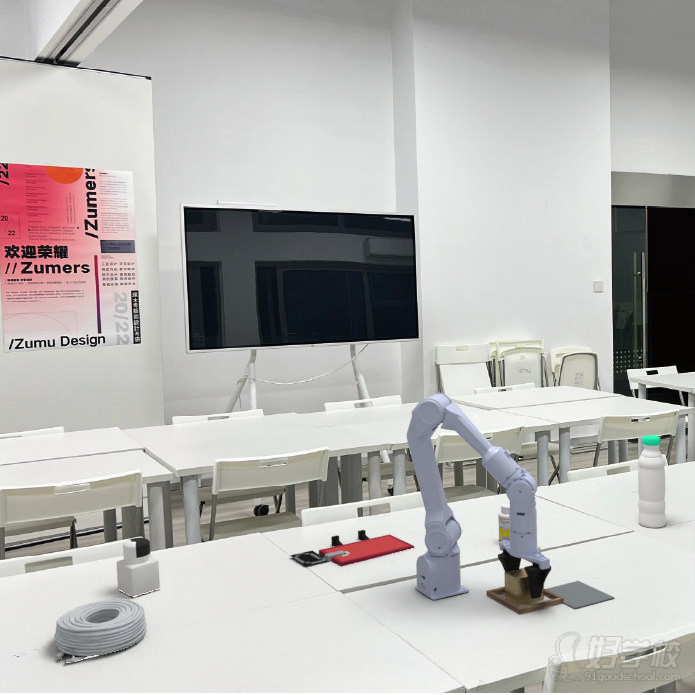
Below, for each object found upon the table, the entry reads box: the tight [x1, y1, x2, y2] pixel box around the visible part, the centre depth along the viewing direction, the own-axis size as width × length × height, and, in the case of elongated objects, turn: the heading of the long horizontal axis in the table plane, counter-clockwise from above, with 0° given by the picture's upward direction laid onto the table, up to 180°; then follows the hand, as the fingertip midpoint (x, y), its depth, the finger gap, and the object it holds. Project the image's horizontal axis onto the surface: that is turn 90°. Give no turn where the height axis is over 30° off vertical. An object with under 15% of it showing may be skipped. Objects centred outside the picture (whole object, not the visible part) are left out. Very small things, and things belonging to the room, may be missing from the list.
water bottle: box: [637, 434, 666, 529], centre depth 212 cm, size 7×7×25 cm
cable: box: [53, 598, 148, 664], centre depth 152 cm, size 18×18×6 cm
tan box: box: [503, 567, 545, 607], centre depth 165 cm, size 7×4×6 cm, turn 116°
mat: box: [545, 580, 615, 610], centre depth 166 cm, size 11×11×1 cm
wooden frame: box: [486, 585, 564, 615], centre depth 165 cm, size 12×12×1 cm
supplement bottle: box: [497, 502, 510, 542], centre depth 201 cm, size 6×6×10 cm
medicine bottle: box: [116, 537, 161, 596], centre depth 177 cm, size 7×7×12 cm
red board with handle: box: [289, 529, 415, 568], centre depth 199 cm, size 30×3×15 cm
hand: (524, 591), depth 165 cm, fingers open, 7 cm apart
